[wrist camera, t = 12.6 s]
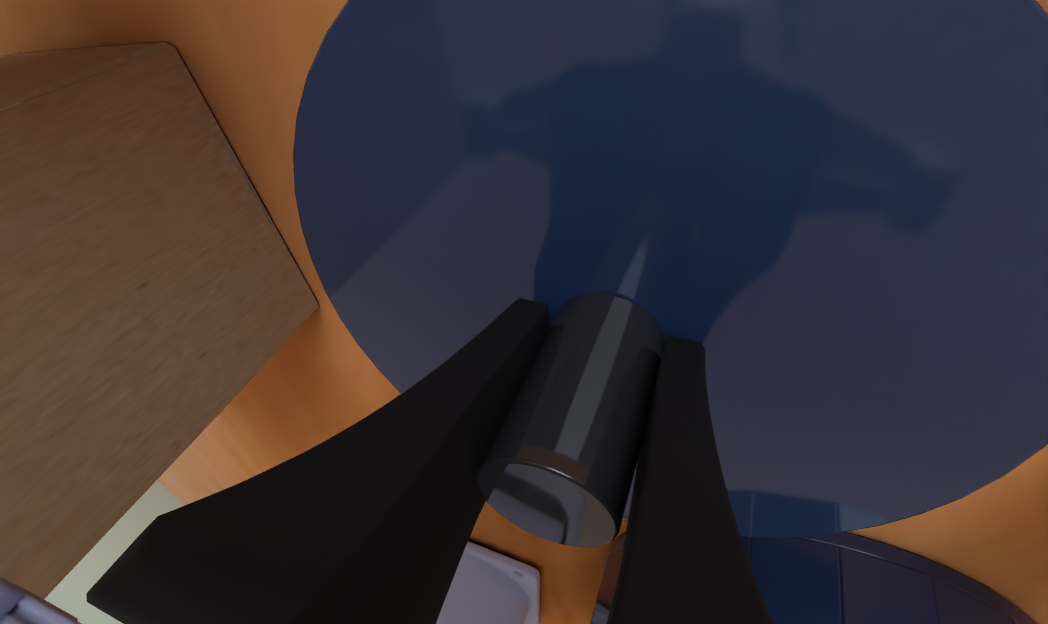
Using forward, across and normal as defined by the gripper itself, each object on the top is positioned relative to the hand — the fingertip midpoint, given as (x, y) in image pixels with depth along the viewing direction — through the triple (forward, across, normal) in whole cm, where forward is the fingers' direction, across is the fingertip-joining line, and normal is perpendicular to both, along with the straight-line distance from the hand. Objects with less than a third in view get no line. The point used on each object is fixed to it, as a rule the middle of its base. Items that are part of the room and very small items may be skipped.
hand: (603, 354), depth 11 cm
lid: (+1, 0, 0) cm, 1 cm away
